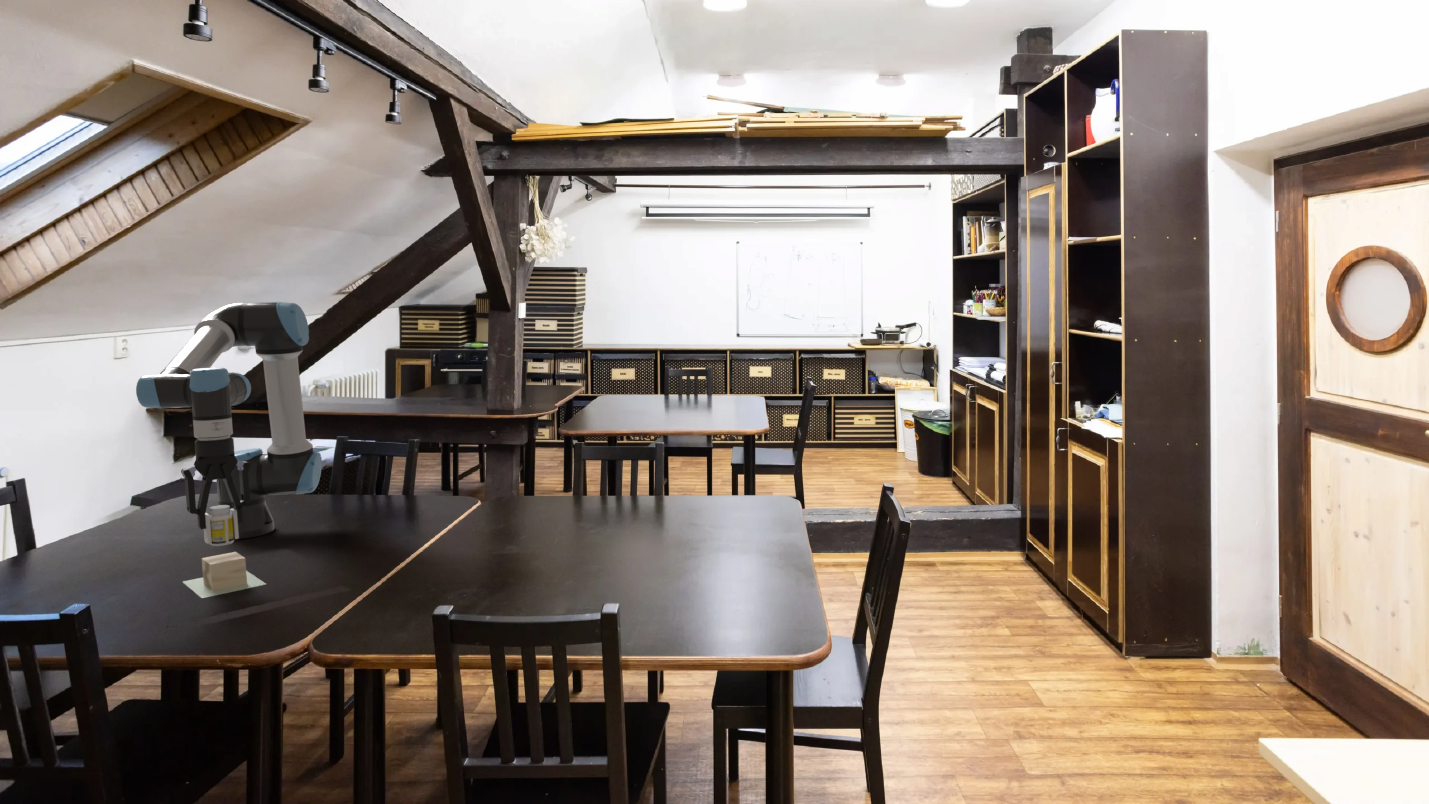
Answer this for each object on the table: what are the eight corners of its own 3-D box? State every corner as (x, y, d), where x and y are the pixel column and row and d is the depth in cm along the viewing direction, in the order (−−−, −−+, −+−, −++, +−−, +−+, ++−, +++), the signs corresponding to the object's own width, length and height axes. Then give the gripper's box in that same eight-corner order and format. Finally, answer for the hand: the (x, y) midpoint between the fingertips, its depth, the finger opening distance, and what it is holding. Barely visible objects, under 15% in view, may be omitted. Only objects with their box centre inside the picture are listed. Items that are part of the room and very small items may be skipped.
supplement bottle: (227, 539, 199) (225, 503, 198) (238, 542, 196) (236, 506, 195) (205, 544, 195) (203, 507, 194) (216, 547, 192) (213, 510, 191)
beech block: (203, 583, 197) (201, 558, 196) (237, 576, 202) (235, 551, 201) (212, 591, 192) (210, 564, 191) (247, 583, 197) (245, 557, 196)
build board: (182, 586, 199) (182, 581, 199) (244, 573, 208) (244, 568, 208) (202, 603, 187) (201, 598, 187) (266, 589, 197) (266, 584, 196)
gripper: (172, 444, 184) (181, 551, 187) (262, 434, 196) (269, 535, 199) (163, 440, 189) (172, 544, 192) (252, 431, 202) (259, 529, 204)
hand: (221, 539), depth 196 cm, fingers closed on supplement bottle, 5 cm apart
